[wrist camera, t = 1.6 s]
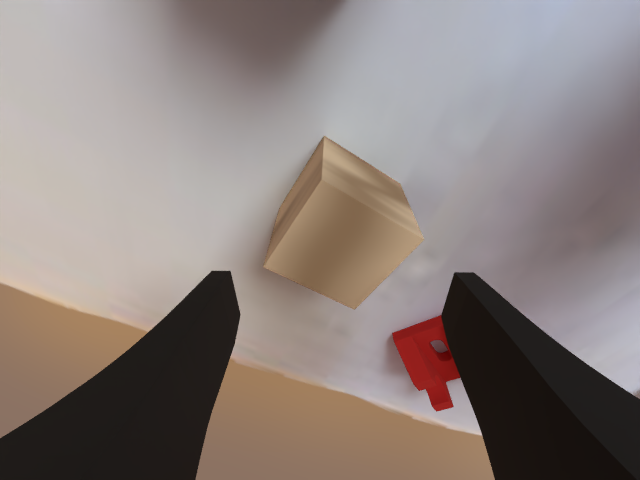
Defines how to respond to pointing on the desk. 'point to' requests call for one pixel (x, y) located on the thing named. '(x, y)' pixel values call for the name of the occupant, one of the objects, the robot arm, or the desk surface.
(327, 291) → the birch block
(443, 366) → the bracket
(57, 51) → the desk surface
